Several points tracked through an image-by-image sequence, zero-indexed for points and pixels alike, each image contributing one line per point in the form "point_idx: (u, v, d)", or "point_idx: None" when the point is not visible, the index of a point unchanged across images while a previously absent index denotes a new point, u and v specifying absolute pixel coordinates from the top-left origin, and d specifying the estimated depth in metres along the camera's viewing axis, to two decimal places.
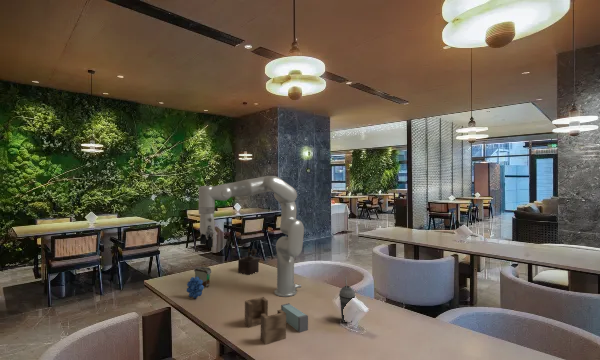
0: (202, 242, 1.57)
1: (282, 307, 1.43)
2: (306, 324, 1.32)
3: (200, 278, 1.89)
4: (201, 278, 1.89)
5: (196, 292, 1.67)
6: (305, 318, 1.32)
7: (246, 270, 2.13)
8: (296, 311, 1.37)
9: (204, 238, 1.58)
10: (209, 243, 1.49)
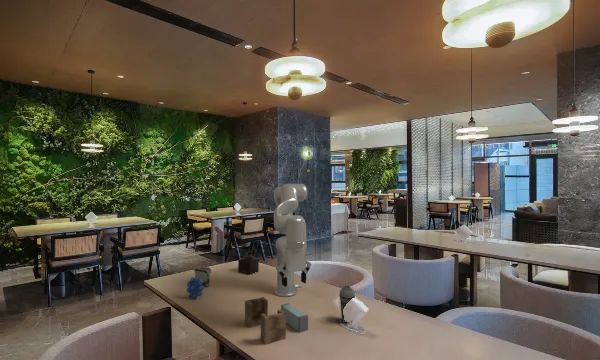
0: None
1: (282, 307, 1.43)
2: (306, 324, 1.32)
3: (200, 278, 1.89)
4: (201, 278, 1.89)
5: (196, 292, 1.67)
6: (305, 318, 1.32)
7: (246, 270, 2.13)
8: (296, 311, 1.37)
9: None
10: None
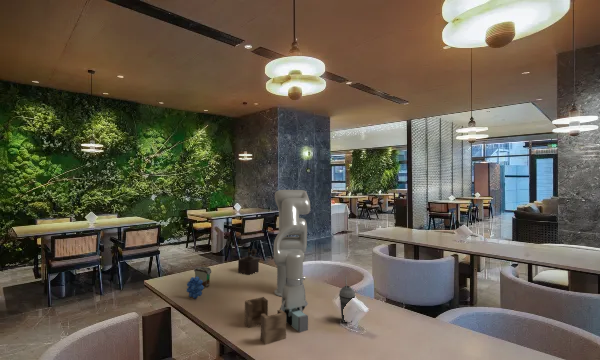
0: None
1: None
2: (306, 324, 1.32)
3: (200, 278, 1.89)
4: (201, 278, 1.89)
5: (196, 292, 1.67)
6: (305, 318, 1.32)
7: (246, 270, 2.13)
8: (296, 311, 1.37)
9: None
10: None
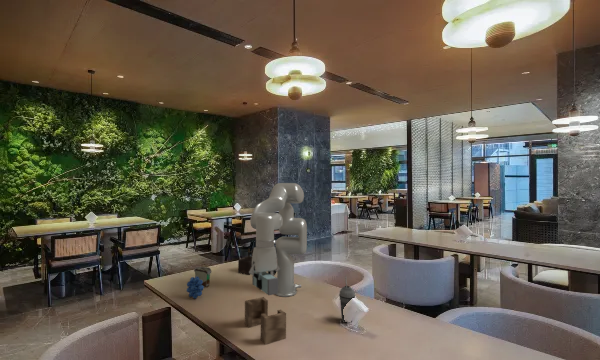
0: None
1: None
2: (276, 287, 1.26)
3: (200, 278, 1.89)
4: (201, 278, 1.89)
5: (196, 292, 1.67)
6: (275, 281, 1.26)
7: (246, 270, 2.13)
8: (267, 275, 1.31)
9: None
10: None
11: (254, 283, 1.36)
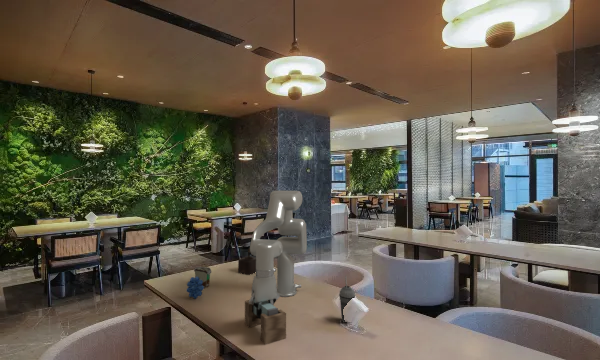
0: None
1: None
2: None
3: (200, 278, 1.89)
4: (201, 278, 1.89)
5: (196, 292, 1.67)
6: (275, 311, 1.26)
7: (246, 270, 2.13)
8: (266, 304, 1.31)
9: None
10: None
11: (254, 311, 1.36)
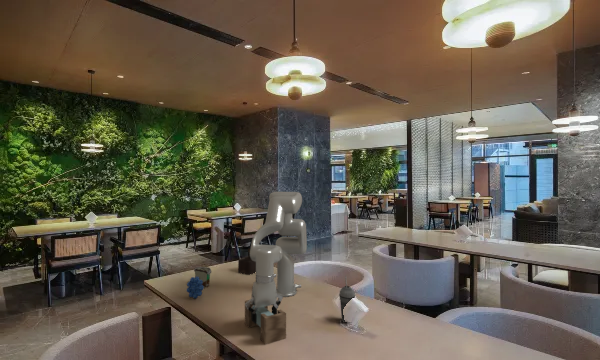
0: None
1: None
2: None
3: (200, 278, 1.89)
4: (201, 278, 1.89)
5: (196, 292, 1.67)
6: None
7: (246, 270, 2.13)
8: (266, 312, 1.31)
9: None
10: None
11: None
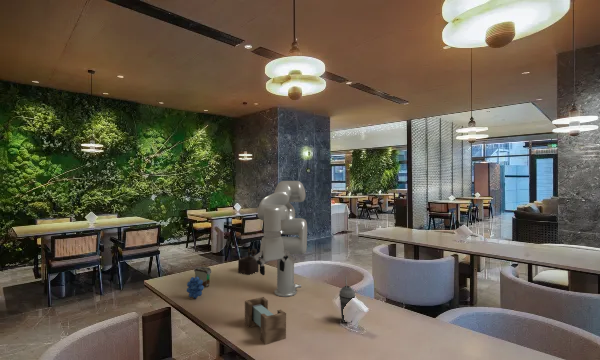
0: None
1: (253, 308, 1.37)
2: None
3: (200, 278, 1.89)
4: (201, 278, 1.89)
5: (196, 292, 1.67)
6: None
7: (246, 270, 2.13)
8: (266, 312, 1.31)
9: None
10: None
11: (254, 319, 1.36)
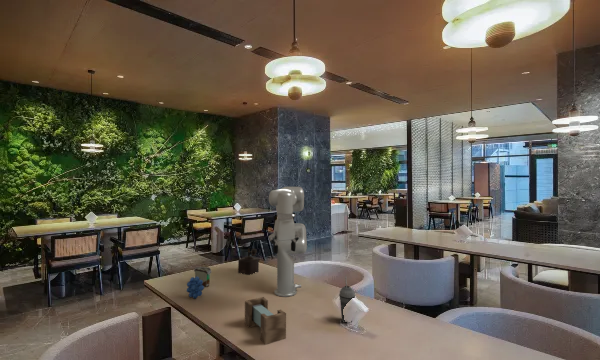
0: None
1: (253, 308, 1.37)
2: None
3: (200, 278, 1.89)
4: (201, 278, 1.89)
5: (196, 292, 1.67)
6: None
7: (246, 270, 2.13)
8: (266, 312, 1.31)
9: None
10: None
11: (254, 319, 1.36)
